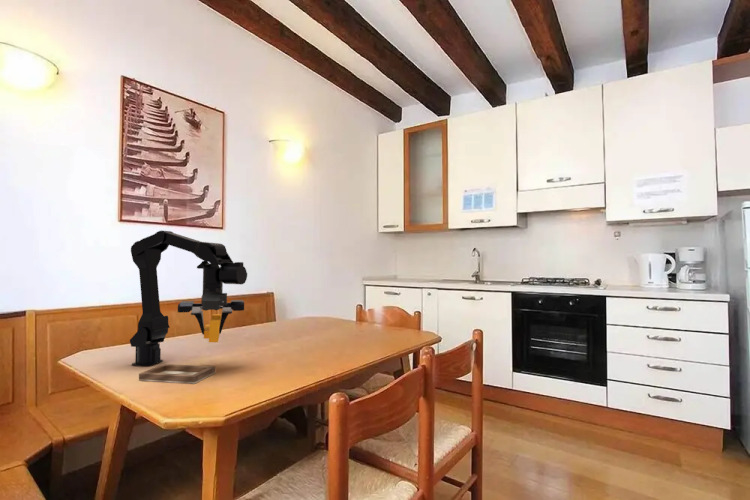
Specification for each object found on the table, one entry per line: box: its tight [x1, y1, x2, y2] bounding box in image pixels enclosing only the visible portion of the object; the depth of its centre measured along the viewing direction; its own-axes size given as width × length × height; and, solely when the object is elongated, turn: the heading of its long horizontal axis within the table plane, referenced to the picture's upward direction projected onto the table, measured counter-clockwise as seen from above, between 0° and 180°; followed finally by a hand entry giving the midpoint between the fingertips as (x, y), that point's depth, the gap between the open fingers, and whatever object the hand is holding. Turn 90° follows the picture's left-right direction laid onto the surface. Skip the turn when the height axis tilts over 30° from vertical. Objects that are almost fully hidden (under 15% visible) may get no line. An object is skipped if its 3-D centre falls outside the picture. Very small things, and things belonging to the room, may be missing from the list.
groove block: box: [138, 363, 216, 385], centre depth 112 cm, size 17×10×2 cm, turn 81°
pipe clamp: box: [203, 313, 222, 343], centre depth 120 cm, size 12×4×6 cm, turn 20°
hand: (211, 333), depth 120 cm, fingers closed on pipe clamp, 4 cm apart
